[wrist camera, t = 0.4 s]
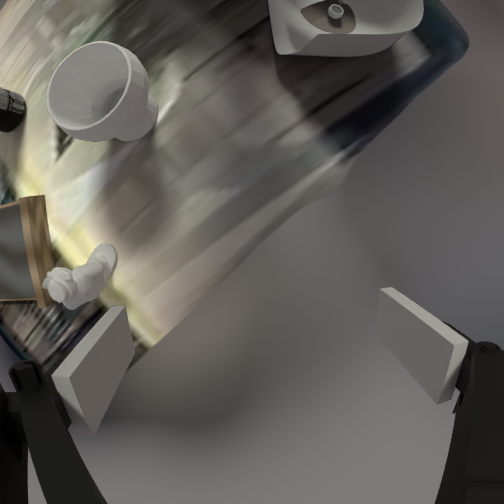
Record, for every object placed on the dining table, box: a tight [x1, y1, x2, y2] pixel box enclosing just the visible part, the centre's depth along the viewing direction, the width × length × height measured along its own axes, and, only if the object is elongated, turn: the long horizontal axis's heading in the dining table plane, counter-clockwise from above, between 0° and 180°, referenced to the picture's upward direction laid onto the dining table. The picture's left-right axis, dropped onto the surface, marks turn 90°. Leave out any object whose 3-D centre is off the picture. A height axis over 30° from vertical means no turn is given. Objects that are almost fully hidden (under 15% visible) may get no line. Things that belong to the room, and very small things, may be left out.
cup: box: [46, 41, 158, 142], centre depth 30 cm, size 11×11×15 cm
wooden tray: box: [0, 195, 55, 308], centre depth 37 cm, size 16×17×5 cm
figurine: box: [42, 242, 117, 310], centre depth 35 cm, size 9×7×12 cm
